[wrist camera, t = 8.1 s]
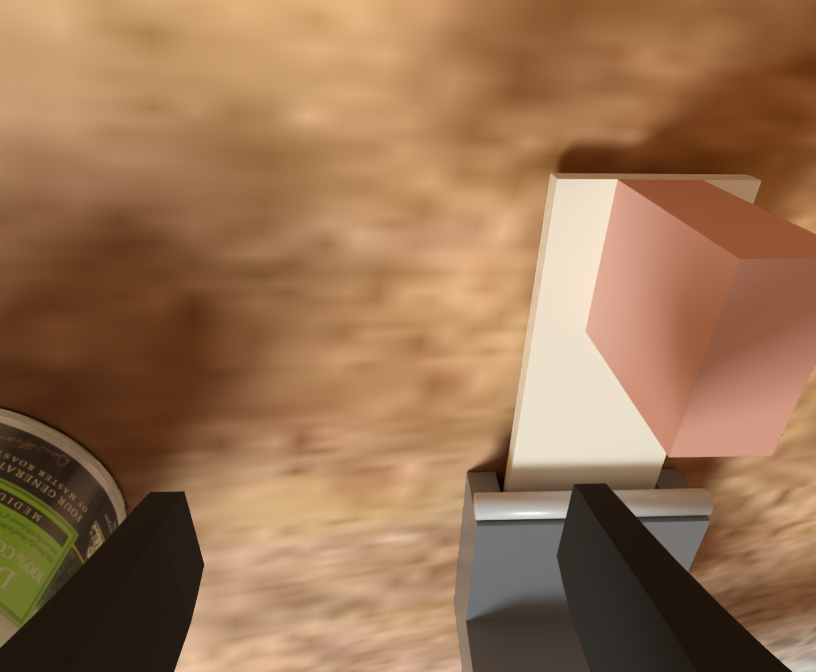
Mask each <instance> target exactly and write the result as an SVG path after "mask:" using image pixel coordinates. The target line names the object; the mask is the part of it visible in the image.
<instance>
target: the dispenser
mask: <svg viewBox="0 0 816 672" xmlns="http://www.w3.org/2000/svg"><path fill="white" fill-rule="evenodd" d="M612 491H613V492H614V493H615V494H616V495H617V496H618V497H619V498H620V499H621V500H622V501H623V503H624V504H625V505H626V506H627V507H628V508H629V509H630V510H631V511H632V512H633V514H634V515H635V516H636V517H637V518H638V519H639V520H640V521H641V522H642V523H643V525H644V526H645V527H646V528H647V529H648V530H649V531H650V532H651V533H652V534H653V535H654V537H655V538H656V539H657V540H658V541H659V542H660V543H661V544H662V545H663V546H664V547H665V548H666V550H667V551H668V552H669V553H670V554H671V555H672V556H673V557H674V558H675V559H676V560H677V561H678V562H679V563H680V564H681V565H682V566H683V567H684V568H685V569H686V570H687V571H689V569H690V567H691V564H692V562H693V560H694V558H695V555H696V553H697V551H698V549H699V546H700V544H701V542H702V539H703V537H704V535H705V533H706V530H707V528H708V526H709V524H710V519H709V518H708V516H707V515H710V514H711V513H712V511H713V499H712V496H711V494H710V493H709V491H708V490H707V489H705V488H688V486H687V485H686V483H685V482H684V480H683V479H682V477H681V476H680V474H679V473H678V471H677V470H676V469H661V471H660V474H659V477H658V480H657V483H656V486H655V489H638V490H612ZM571 494H572V491H537V492H500V489H499V485H498V481H497V477H496V473H495V472H467V477H466V487H465V497H464V507H463V517H462V527H461V537H460V548H459V558H458V568H457V578H456V588H455V598H454V607H455V615H456V623H457V631H458V639H459V647H460V655H461V663H462V671H463V672H590V669H589V666H588V663H587V660H586V658H585V655H584V652H583V649H582V646H581V643H580V640H579V638H578V635H577V632H576V629H575V626H574V623H573V620H572V617H571V614H570V611H569V607H568V603H567V599H566V595H565V591H564V587H563V582H562V578H561V573H560V569H559V564H558V560H557V552H558V548H559V544H560V539H561V535H562V531H563V527H564V523H565V519H566V514H567V510H568V506H569V502H570V498H571Z"/></svg>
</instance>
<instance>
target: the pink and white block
mask: <svg viewBox="0 0 816 672" xmlns="http://www.w3.org/2000/svg"><path fill="white" fill-rule="evenodd" d="M761 181H762V180H760V179H757V178H755V177H752V176H750V175H745V174H610V173H550V180H549V186H548V193H547V200H546V207H545V213H544V220H543V227H542V233H541V240H540V247H539V253H538V260H537V267H536V274H535V280H534V287H533V294H532V300H531V307H530V314H529V320H528V327H527V334H526V341H525V347H524V354H523V361H522V367H521V374H520V381H519V388H518V394H517V401H516V408H515V414H514V421H513V428H512V434H511V441H510V448H509V455H508V461H507V468H506V475H505V481H504V488H503V492H537V491H572V489H573V485H574V484H596V483H606V484H607V485H608V486H609V487H610V488H611V489H612V490H638V489H655V486H656V483H657V480H658V477H659V474H660V471H661V468H662V466H663V463H664V460H665V457H666V454H667V455H668V457H727V456H772V454H773V452H774V450H775V448H776V446H777V444H778V442H779V440H780V437H781V435H782V433H783V431H784V429H785V427H786V425H787V423H788V421H789V419H790V417H791V415H792V412H793V410H794V408H795V406H796V404H797V402H798V400H799V398H800V396H801V394H802V392H803V390H804V388H805V385H806V383H807V381H808V379H809V377H810V375H811V373H812V371H813V369H814V367H815V365H816V234H814V233H812V232H810V231H807V230H805V229H803V228H801V227H799V226H797V225H795V224H793V223H791V222H789V221H787V220H785V219H783V218H781V217H778V216H776V215H774V214H772V213H770V212H768V211H766V210H764V209H762V208H760V207H758V206H756V205H754V201H755V198H756V195H757V193H758V190H759V187H760V184H761Z"/></svg>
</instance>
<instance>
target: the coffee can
mask: <svg viewBox="0 0 816 672" xmlns="http://www.w3.org/2000/svg"><path fill="white" fill-rule="evenodd" d="M126 517H127V515H126V508H125V503H124V499H123V496H122V493H121V492H120V490H119V488H118V486H117V484H116V482H115V481H114V479H113V478H112V476H111V475H110V473H109V472H108V471H107V470H106V468H105V467H104V466H103V465H102V464H101V463H100V462H99V461H98V460H97V459H96V458H95V457H94V456H93V455H92V454H91V453H90V452H88V451H87V450H86V449H85V448H84V447H83V446H81V445H80V444H78V443H77V442H76V441H74V440H73V439H71V438H70V437H68V436H67V435H65V434H63V433H62V432H60V431H58V430H56V429H54V428H52V427H49V426H47V425H45V424H43V423H41V422H39V421H38V420H35V419H32V418H30V417H28V416H25V415H22V414H20V413H17V412H14V411H10V410H6V409H2V408H0V647H1V646H2V645H4V644H5V643H6V642H7V641H8V640H9V639H10V638H11V637H12V636H13V635H14V634H15V633H16V632H17V631H18V630H19V629H20V628H21V627H22V626H23V625H24V624H25V623H26V622H27V621H28V620H29V619H30V618H31V617H32V616H33V615H34V614H35V613H36V612H37V611H38V610H39V609H40V608H41V607H42V606H43V605H44V604H45V603H46V602H47V601H48V600H49V599H50V598H51V597H52V596H53V595H54V594H55V593H56V592H57V591H58V590H59V589H60V588H61V587H62V586H63V585H64V584H65V583H66V582H67V580H68V579H69V578H70V577H71V576H72V575H73V574H74V573H75V572H76V571H77V570H78V569H79V568H80V567H81V566H82V565H83V564H84V563H85V562H86V561H87V560H88V558H89V557H90V556H91V555H92V554H93V553H94V552H95V551H96V550H97V549H98V548H99V547H100V546H101V544H102V543H103V542H104V541H105V540H106V539H107V538H108V537H109V536H110V535H111V534H112V533H113V531H114V530H115V529H116V528H117V527H118V526H119V525H120V524H121V523H122V522H123V520H124V519H125V518H126Z"/></svg>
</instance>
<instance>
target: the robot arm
mask: <svg viewBox="0 0 816 672" xmlns="http://www.w3.org/2000/svg"><path fill="white" fill-rule="evenodd" d="M557 560H558V564H559V569H560V573H561V578H562V582H563V587H564V591H565V595H566V599H567V603H568V607H569V611H570V614H571V617H572V620H573V623H574V626H575V629H576V632H577V635H578V638H579V640H580V643H581V646H582V649H583V652H584V655H585V658H586V660H587V663H588V666H589V669H590V672H792V671H791V670H790V669H788V668H787V667H786V666H785V665H784V664H783V663H782V662H781V661H779V660H778V659H777V658H776V657H775V656H774V655H773V654H772V653H771V652H769V651H768V650H767V649H766V648H765V647H764V646H763V645H762V644H761V643H760V642H759V641H757V640H756V639H755V638H754V637H753V636H752V635H751V634H750V633H749V632H748V631H747V630H746V629H745V628H744V627H743V626H742V625H741V624H740V623H739V622H737V621H736V620H735V619H734V618H733V617H732V616H731V615H730V614H729V613H728V612H727V611H726V610H725V609H724V608H723V607H722V606H721V605H720V604H719V603H718V602H717V601H716V600H715V599H714V598H713V597H712V596H711V595H710V594H709V593H708V592H707V591H706V590H705V589H704V588H703V587H702V586H701V585H700V584H699V583H698V582H697V581H696V580H695V579H694V578H693V577H692V576H691V575H690V574H689V573H688V571H687V570H686V569H685V568H684V567H683V566H682V565H681V564H680V563H679V562H678V561H677V560H676V559H675V558H674V557H673V556H672V555H671V554H670V553H669V552H668V551H667V550H666V548H665V547H664V546H663V545H662V544H661V543H660V542H659V541H658V540H657V539H656V538H655V537H654V535H653V534H652V533H651V532H650V531H649V530H648V529H647V528H646V527H645V526H644V525H643V523H642V522H641V521H640V520H639V519H638V518H637V517H636V516H635V515H634V514H633V512H632V511H631V510H630V509H629V508H628V507H627V506H626V505H625V504H624V503H623V501H622V500H621V499H620V498H619V497H618V496H617V495H616V494H615V493H614V492H613V491H612V489H611V488H610V487H609V486H608V485H607V484H606V483H596V484H574V485H573V489H572V494H571V498H570V502H569V506H568V510H567V514H566V519H565V523H564V527H563V531H562V535H561V539H560V544H559V548H558V552H557ZM203 568H204V562H203V558H202V555H201V551H200V547H199V544H198V540H197V536H196V532H195V529H194V525H193V521H192V518H191V514H190V510H189V507H188V503H187V499H186V496H185V492H184V491H181V492H150V493H149V494H148V495H147V496H146V497H145V498H144V499H143V500H142V501H141V502H140V503H139V504H138V505H137V506H136V507H135V508H134V510H133V511H132V512H131V513H130V514H129V515H128V516H127V517H126V518H125V519H124V520H123V522H122V523H121V524H120V525H119V526H118V527H117V528H116V529H115V530H114V531H113V533H112V534H111V535H110V536H109V537H108V538H107V539H106V540H105V541H104V542H103V543H102V544H101V546H100V547H99V548H98V549H97V550H96V551H95V552H94V553H93V554H92V555H91V556H90V557H89V558H88V560H87V561H86V562H85V563H84V564H83V565H82V566H81V567H80V568H79V569H78V570H77V571H76V572H75V573H74V574H73V575H72V576H71V577H70V578H69V579H68V580H67V582H66V583H65V584H64V585H63V586H62V587H61V588H60V589H59V590H58V591H57V592H56V593H55V594H54V595H53V596H52V597H51V598H50V599H49V600H48V601H47V602H46V603H45V604H44V605H43V606H42V607H41V608H40V609H39V610H38V611H37V612H36V613H35V614H34V615H33V616H32V617H31V618H30V619H29V620H28V621H27V622H26V623H25V624H24V625H23V626H22V627H21V628H20V629H19V630H18V631H17V632H16V633H15V634H14V635H13V636H12V637H11V638H10V639H9V640H8V641H7V642H6V643H5V644H4V645H2V646H1V647H0V672H174V670H175V667H176V665H177V662H178V659H179V656H180V653H181V650H182V647H183V644H184V641H185V639H186V636H187V633H188V630H189V627H190V624H191V620H192V616H193V612H194V608H195V604H196V599H197V595H198V591H199V586H200V582H201V577H202V572H203Z"/></svg>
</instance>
